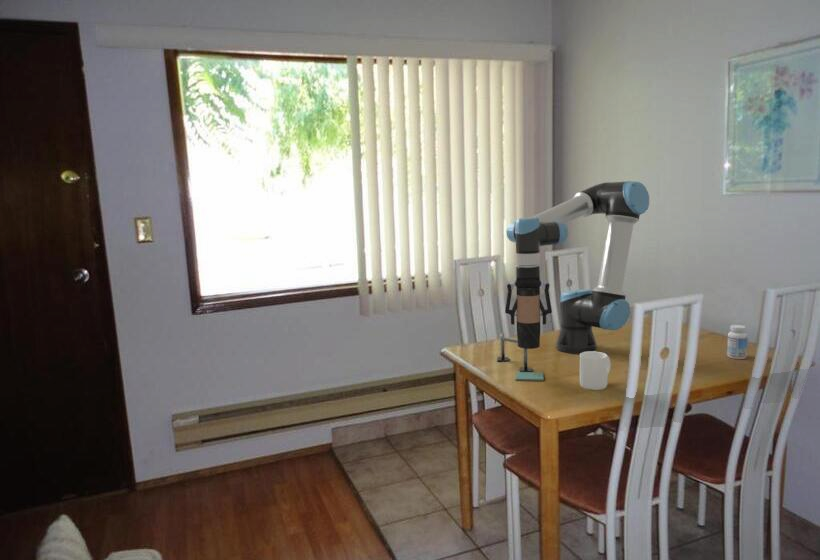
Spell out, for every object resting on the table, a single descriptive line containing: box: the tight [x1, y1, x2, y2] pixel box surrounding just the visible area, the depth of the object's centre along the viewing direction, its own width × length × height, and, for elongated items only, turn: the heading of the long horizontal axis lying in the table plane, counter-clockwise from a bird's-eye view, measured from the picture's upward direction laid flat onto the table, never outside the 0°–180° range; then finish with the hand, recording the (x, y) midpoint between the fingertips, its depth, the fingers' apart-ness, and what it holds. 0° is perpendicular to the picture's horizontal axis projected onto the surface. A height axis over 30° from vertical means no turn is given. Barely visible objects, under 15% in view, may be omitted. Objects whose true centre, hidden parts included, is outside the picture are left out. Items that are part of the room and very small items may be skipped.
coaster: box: [515, 371, 545, 382], centre depth 187 cm, size 9×7×1 cm
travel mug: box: [516, 286, 541, 350], centre depth 183 cm, size 8×8×20 cm
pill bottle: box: [726, 324, 749, 360], centre depth 197 cm, size 6×6×11 cm
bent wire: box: [496, 332, 533, 372], centre depth 199 cm, size 12×16×10 cm
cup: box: [579, 350, 611, 391], centre depth 176 cm, size 8×12×10 cm
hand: (528, 333), depth 184 cm, fingers closed on travel mug, 8 cm apart
